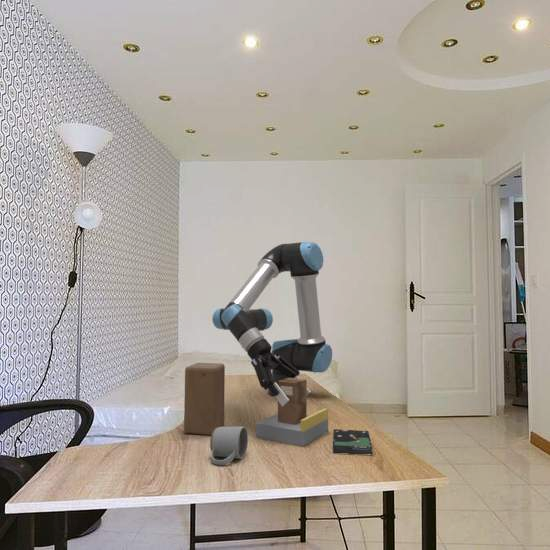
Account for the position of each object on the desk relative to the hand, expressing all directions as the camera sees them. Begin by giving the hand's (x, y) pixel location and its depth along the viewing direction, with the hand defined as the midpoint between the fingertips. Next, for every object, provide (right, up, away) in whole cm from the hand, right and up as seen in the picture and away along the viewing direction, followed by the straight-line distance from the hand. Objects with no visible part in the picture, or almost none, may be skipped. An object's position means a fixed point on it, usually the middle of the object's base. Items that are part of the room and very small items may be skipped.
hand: (297, 398), depth 131 cm
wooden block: (-28, -11, +4) cm, 31 cm away
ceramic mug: (-19, -10, -20) cm, 29 cm away
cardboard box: (-1, -7, 0) cm, 7 cm away
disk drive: (+15, -11, -10) cm, 21 cm away
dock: (-1, -11, 0) cm, 11 cm away
